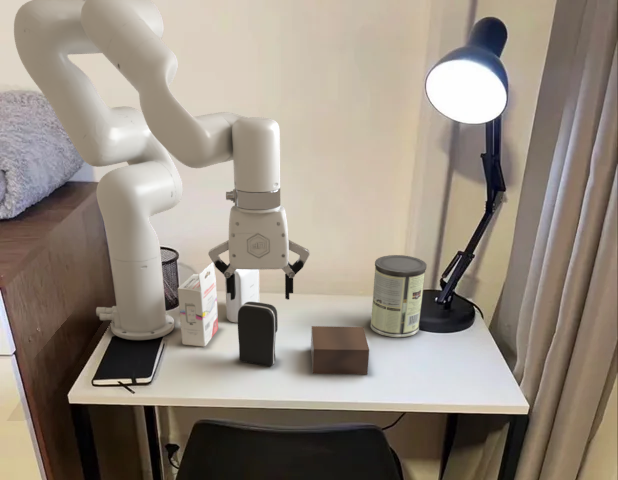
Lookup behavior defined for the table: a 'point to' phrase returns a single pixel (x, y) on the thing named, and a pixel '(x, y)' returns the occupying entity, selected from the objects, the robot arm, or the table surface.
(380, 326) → the coffee can
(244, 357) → the black rounded block
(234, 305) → the photo printer
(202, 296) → the ink cartridge box
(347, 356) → the block
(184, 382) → the table surface
